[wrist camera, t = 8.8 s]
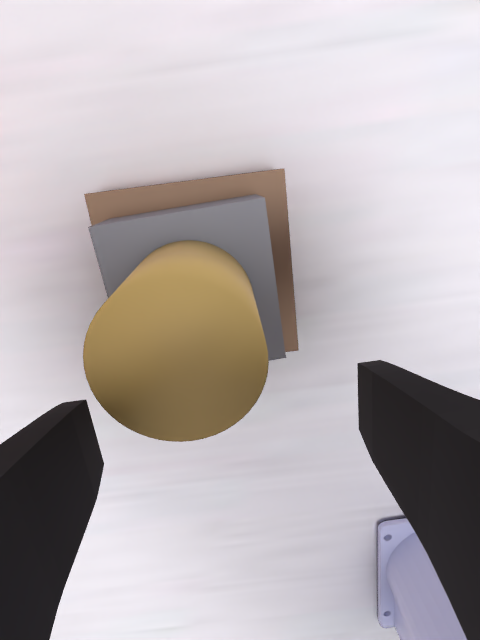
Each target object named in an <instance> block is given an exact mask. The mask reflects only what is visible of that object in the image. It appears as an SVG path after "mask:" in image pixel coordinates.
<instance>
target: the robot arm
mask: <svg viewBox="0 0 480 640" xmlns="http://www.w3.org/2000/svg"><path fill="white" fill-rule="evenodd" d="M358 409H359V430H360V433H361V435H362V438H363V440H364V442H365V445H366V447H367V450H368V452H369V454H370V456H371V459H372V461H373V463H374V464H375V466H376V468H377V470H378V471H379V473H380V475H381V476H382V478H383V480H384V481H385V483H386V485H387V486H388V488H389V490H390V491H391V493H392V495H393V496H394V498H395V500H396V501H397V503H398V505H399V506H400V508H401V510H402V511H403V513H404V515H405V516H406V518H403V519H396V520H390V521H384V522H382V523H380V525H379V526H378V621H379V624H380V626H381V627H383V628H390V627H395V628H396V630H397V633H398V635H399V638H400V640H480V400H478V399H475V398H472V397H470V396H467V395H464V394H462V393H459V392H457V391H454V390H452V389H449V388H447V387H444V386H442V385H440V384H437V383H435V382H432V381H430V380H428V379H426V378H423V377H421V376H419V375H416V374H414V373H412V372H410V371H407V370H405V369H403V368H400V367H398V366H395V365H393V364H390V363H388V362H385V361H381V360H378V361H371V362H363V363H358ZM103 466H104V462H103V458H102V455H101V451H100V448H99V444H98V441H97V437H96V433H95V430H94V426H93V423H92V419H91V415H90V412H89V408H88V405H87V401H86V400H80V401H72V402H65V403H61V404H60V405H58V406H56V407H54V408H53V409H51V410H49V411H48V412H46V413H45V414H43V415H42V416H40V417H39V418H37V419H36V420H35V421H33V422H32V423H30V424H29V425H27V426H26V427H25V428H23V429H22V430H20V431H19V432H17V433H16V434H15V435H13V436H12V437H10V438H9V439H7V440H6V441H5V442H3V443H2V444H0V640H49V639H50V635H51V631H52V627H53V624H54V620H55V616H56V612H57V609H58V605H59V602H60V599H61V596H62V593H63V590H64V587H65V584H66V581H67V579H68V576H69V573H70V571H71V568H72V565H73V563H74V560H75V557H76V554H77V552H78V549H79V546H80V544H81V541H82V538H83V536H84V533H85V530H86V527H87V525H88V522H89V519H90V516H91V514H92V511H93V508H94V505H95V502H96V499H97V495H98V490H99V486H100V482H101V477H102V472H103ZM385 535H386V536H385Z"/></svg>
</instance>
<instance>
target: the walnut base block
mask: <svg viewBox="0 0 480 640" xmlns="http://www.w3.org/2000/svg"><path fill="white" fill-rule="evenodd" d="M253 194H257V195H259V196H262V197H265V202H266V209H267V217H268V225H269V232H270V240H271V248H272V255H273V263H274V271H275V278H276V286H277V293H278V301H279V309H280V316H281V324H282V332H283V339H284V347H285V352H290V351H297V350H298V338H297V325H296V313H295V300H294V287H293V274H292V261H291V248H290V235H289V223H288V210H287V197H286V184H285V171H284V169H276V170H268V171H260V172H252V173H245V174H237V175H229V176H221V177H213V178H206V179H198V180H190V181H182V182H174V183H166V184H159V185H151V186H143V187H135V188H127V189H119V190H112V191H104V192H96V193H89V194H84V195H85V199H86V204H87V208H88V212H89V216H90V220H91V224H92V226H93V225H95V224H98V223H100V222H103V221H105V220H107V219H110V218H116V217H122V216H128V215H134V214H140V213H146V212H152V211H158V210H164V209H170V208H176V207H182V206H188V205H194V204H199V203H205V202H211V201H217V200H223V199H229V198H235V197H241V196H247V195H253Z"/></svg>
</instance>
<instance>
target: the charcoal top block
mask: <svg viewBox="0 0 480 640" xmlns="http://www.w3.org/2000/svg"><path fill="white" fill-rule="evenodd" d="M88 228H89V231H90V235H91V238H92V242H93V246H94V249H95V253H96V256H97V260H98V263H99V267H100V271H101V274H102V278H103V281H104V285H105V288H106V292H107V296H108V298H109V297H110V296H111V295H112V294H113V293H114V292H115V291H116V290H117V288H118V287H119V286H120V285H121V284H122V283H123V282H124V281H125V280H126V278H127V277H128V276H129V275H130V274H131V273H132V272H133V271H134V270H135V268H136V267H137V266H138V265H139V264H140V263H141V262H142V261H143V260H144V259H145V258H146V257H147V256H148V255H149V254H150V253H152V252H153V251H154V250H156V249H158V248H160V247H162V246H164V245H166V244H169V243H172V242H177V241H185V240H193V241H201V242H206V243H209V244H212V245H215V246H217V247H219V248H221V249H223V250H224V251H226V252H227V253H229V254H230V255H231V256H232V257H234V258H235V259H236V260H237V261H238V263H239V264H240V265H241V266H242V268H243V269H244V270H245V272H246V274H247V276H248V278H249V280H250V283H251V286H252V290H253V294H254V298H255V301H256V305H257V309H258V313H259V317H260V321H261V324H262V328H263V332H264V336H265V340H266V345H267V349H268V361H269V360H275V359H280V358H286V355H285V347H284V339H283V332H282V324H281V316H280V309H279V301H278V293H277V286H276V278H275V271H274V263H273V255H272V248H271V240H270V232H269V225H268V217H267V209H266V202H265V197H262V196H259V195H257V194H253V195H247V196H241V197H235V198H229V199H223V200H217V201H211V202H205V203H199V204H194V205H188V206H182V207H176V208H170V209H164V210H158V211H152V212H146V213H140V214H134V215H128V216H122V217H116V218H110V219H107V220H105V221H103V222H100V223H98V224H95V225H93V226H90V227H88Z"/></svg>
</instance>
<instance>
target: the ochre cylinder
mask: <svg viewBox="0 0 480 640" xmlns="http://www.w3.org/2000/svg"><path fill="white" fill-rule="evenodd" d="M83 361H84V369H85V374H86V378H87V381H88V383H89V386H90V388H91V390H92V392H93V394H94V396H95V397H96V399H97V400H98V402H99V403H100V404H101V406H102V407H103V408H104V409H105V410H106V411H107V412H108V413H109V414H110V415H111V416H112V417H113V418H114V419H115V420H117V421H118V422H119V423H121V424H122V425H124V426H125V427H127V428H129V429H131V430H133V431H135V432H137V433H139V434H142V435H144V436H147V437H150V438H154V439H158V440H165V441H180V442H183V441H194V440H199V439H204V438H207V437H210V436H213V435H216V434H218V433H220V432H222V431H225V430H226V429H228V428H230V427H231V426H233V425H234V424H236V423H237V422H238V421H239V420H241V419H242V418H243V417H244V416H245V415H246V414H247V413H248V412H249V411H250V410H251V408H252V407H253V406H254V404H255V403H256V402H257V400H258V398H259V396H260V394H261V392H262V390H263V387H264V385H265V382H266V377H267V373H268V349H267V345H266V340H265V336H264V332H263V328H262V324H261V321H260V317H259V313H258V309H257V305H256V301H255V298H254V294H253V290H252V286H251V283H250V280H249V278H248V276H247V274H246V272H245V270H244V269H243V268H242V266H241V265H240V264H239V263H238V261H237V260H236V259H235V258H234V257H232V256H231V255H230V254H229V253H227V252H226V251H224V250H223V249H221V248H219V247H217V246H215V245H212V244H209V243H206V242H201V241H193V240H185V241H177V242H172V243H169V244H166V245H164V246H162V247H160V248H158V249H156V250H154V251H153V252H152V253H150V254H149V255H148V256H147V257H146V258H145V259H144V260H143V261H142V262H141V263H140V264H139V265H138V266H137V267H136V268H135V270H134V271H133V272H132V273H131V274H130V275H129V276H128V277H127V278H126V280H125V281H124V282H123V283H122V284H121V285H120V286H119V287H118V288H117V290H116V291H115V292H114V293H113V294H112V295H111V296H110V297H109V298H108V300H107V301H106V302H105V303H104V304H103V305H102V307H101V308H100V309H99V310H98V312H97V313H96V314H95V316H94V318H93V320H92V321H91V323H90V326H89V328H88V331H87V334H86V338H85V342H84V350H83Z"/></svg>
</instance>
